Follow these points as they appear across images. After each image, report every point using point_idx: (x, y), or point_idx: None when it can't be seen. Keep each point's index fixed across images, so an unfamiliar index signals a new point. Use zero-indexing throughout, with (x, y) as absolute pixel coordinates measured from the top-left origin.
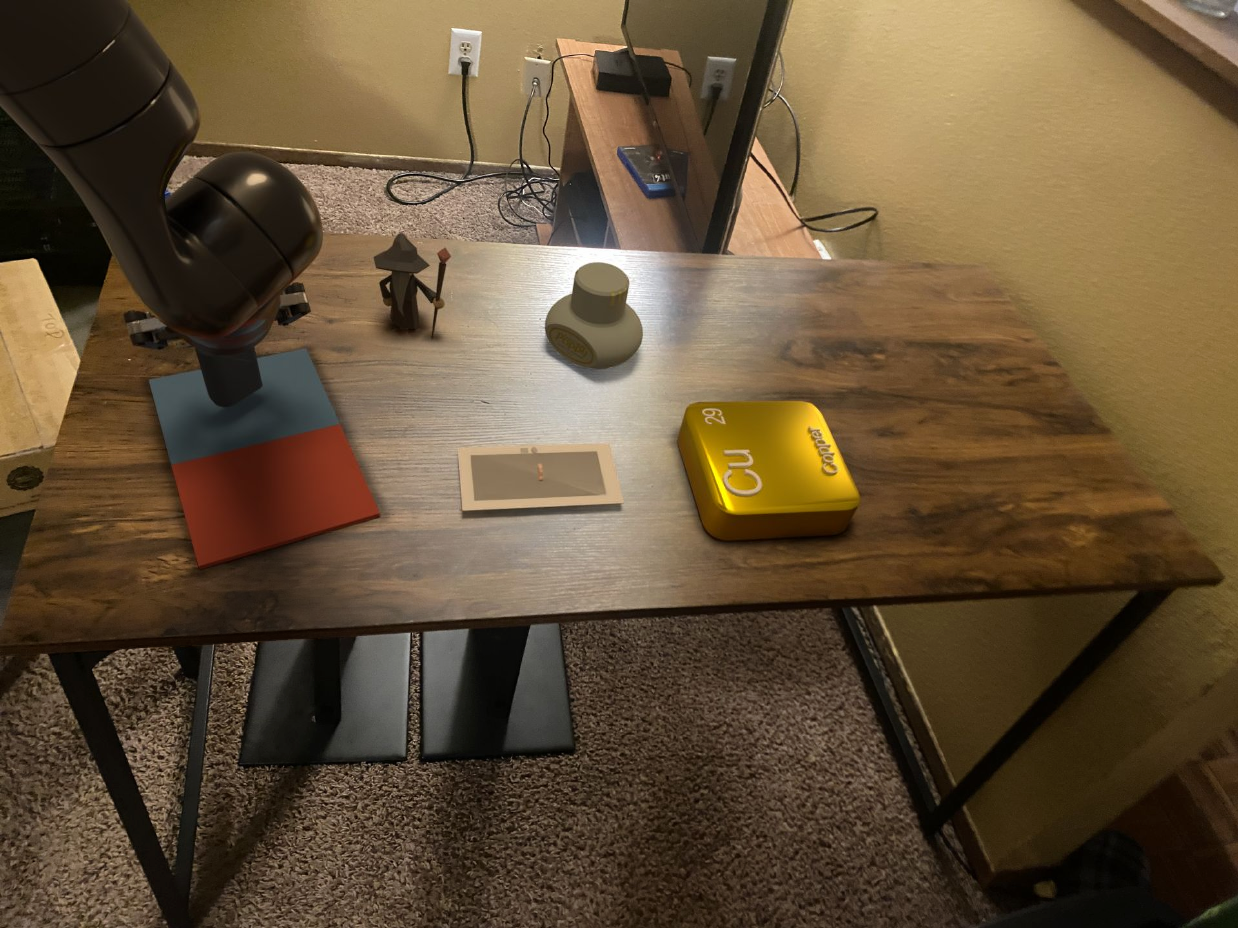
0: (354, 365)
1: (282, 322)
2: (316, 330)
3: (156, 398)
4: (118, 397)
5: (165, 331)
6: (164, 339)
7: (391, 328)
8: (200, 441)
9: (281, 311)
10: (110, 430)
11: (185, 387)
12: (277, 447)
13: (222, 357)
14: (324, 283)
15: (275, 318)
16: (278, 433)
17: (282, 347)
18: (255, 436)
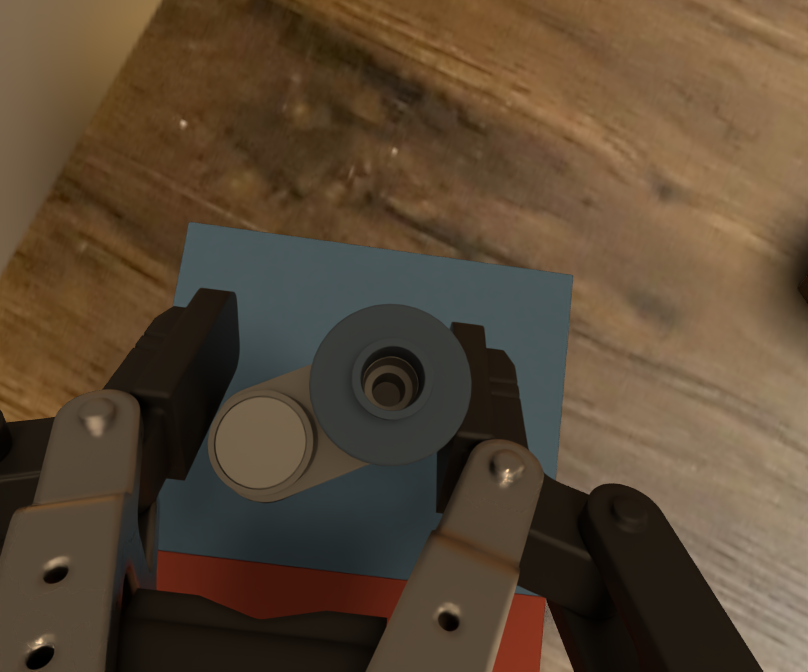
0: (658, 380)
1: (572, 663)
2: (619, 209)
3: (181, 296)
4: (114, 241)
5: (10, 513)
6: (2, 540)
7: (799, 287)
8: (215, 498)
9: (600, 603)
10: (58, 345)
11: (255, 288)
12: (372, 609)
13: (293, 494)
14: (702, 44)
15: (550, 600)
16: (394, 559)
17: (520, 235)
18: (339, 543)
